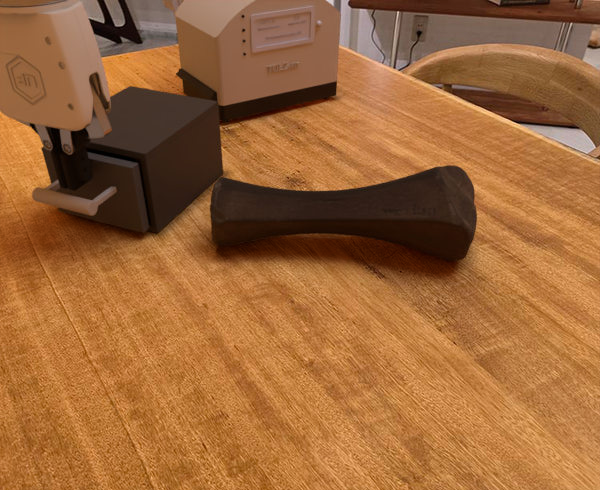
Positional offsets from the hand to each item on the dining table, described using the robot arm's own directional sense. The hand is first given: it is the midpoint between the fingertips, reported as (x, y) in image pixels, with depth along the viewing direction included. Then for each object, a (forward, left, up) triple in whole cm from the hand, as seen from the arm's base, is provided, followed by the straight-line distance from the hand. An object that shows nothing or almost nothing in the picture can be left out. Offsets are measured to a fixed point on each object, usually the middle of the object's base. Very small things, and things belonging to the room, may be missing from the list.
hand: (77, 183), depth 60 cm
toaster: (+12, +47, -7) cm, 49 cm away
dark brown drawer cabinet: (+4, +11, -7) cm, 14 cm away
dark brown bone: (+28, 0, -7) cm, 29 cm away
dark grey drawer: (+2, +7, -6) cm, 9 cm away
